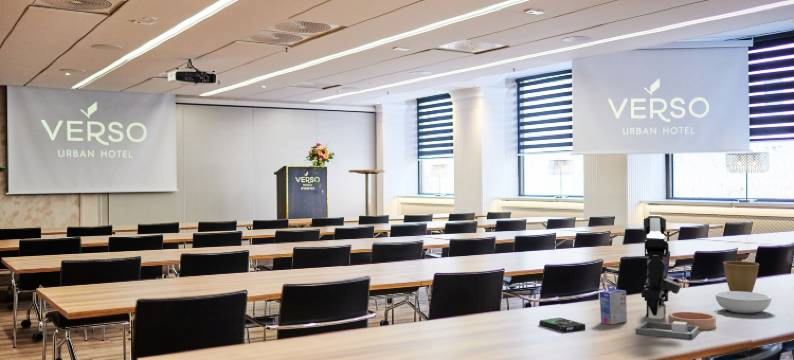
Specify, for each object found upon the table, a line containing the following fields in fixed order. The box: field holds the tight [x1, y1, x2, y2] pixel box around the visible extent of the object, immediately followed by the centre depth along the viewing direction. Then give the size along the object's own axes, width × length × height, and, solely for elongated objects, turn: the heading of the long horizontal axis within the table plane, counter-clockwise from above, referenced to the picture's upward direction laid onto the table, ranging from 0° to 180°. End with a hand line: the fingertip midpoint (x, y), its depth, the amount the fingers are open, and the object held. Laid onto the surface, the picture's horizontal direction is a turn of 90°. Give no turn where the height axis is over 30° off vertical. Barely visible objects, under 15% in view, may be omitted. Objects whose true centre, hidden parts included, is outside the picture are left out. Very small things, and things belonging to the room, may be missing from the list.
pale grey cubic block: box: [671, 321, 688, 333], centre depth 259 cm, size 4×4×4 cm
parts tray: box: [635, 321, 701, 340], centre depth 261 cm, size 19×15×2 cm
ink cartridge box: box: [599, 283, 628, 325], centre depth 281 cm, size 10×6×14 cm, turn 124°
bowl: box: [667, 311, 717, 330], centre depth 274 cm, size 16×16×4 cm
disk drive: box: [538, 317, 586, 334], centre depth 272 cm, size 10×3×15 cm
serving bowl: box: [715, 290, 772, 315], centre depth 300 cm, size 21×21×7 cm
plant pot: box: [722, 260, 760, 292], centre depth 334 cm, size 15×15×16 cm
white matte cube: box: [648, 306, 665, 320], centre depth 263 cm, size 4×4×4 cm
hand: (656, 314), depth 263 cm, fingers closed on white matte cube, 4 cm apart
